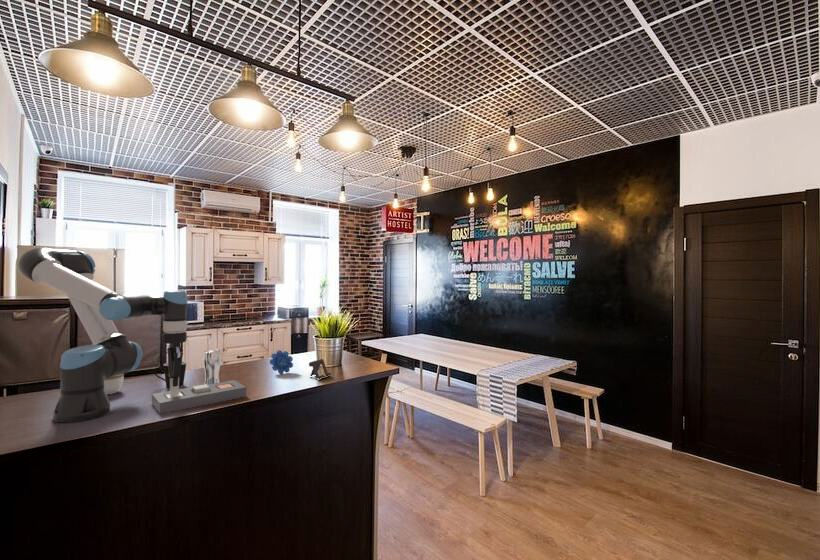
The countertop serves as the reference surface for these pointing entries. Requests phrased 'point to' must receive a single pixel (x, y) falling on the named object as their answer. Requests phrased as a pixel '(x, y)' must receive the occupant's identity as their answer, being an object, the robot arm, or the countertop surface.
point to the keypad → (197, 397)
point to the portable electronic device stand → (316, 367)
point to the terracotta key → (224, 386)
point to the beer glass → (212, 366)
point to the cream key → (174, 395)
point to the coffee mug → (167, 375)
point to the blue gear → (281, 361)
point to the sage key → (200, 388)
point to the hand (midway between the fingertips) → (174, 394)
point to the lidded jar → (113, 384)
